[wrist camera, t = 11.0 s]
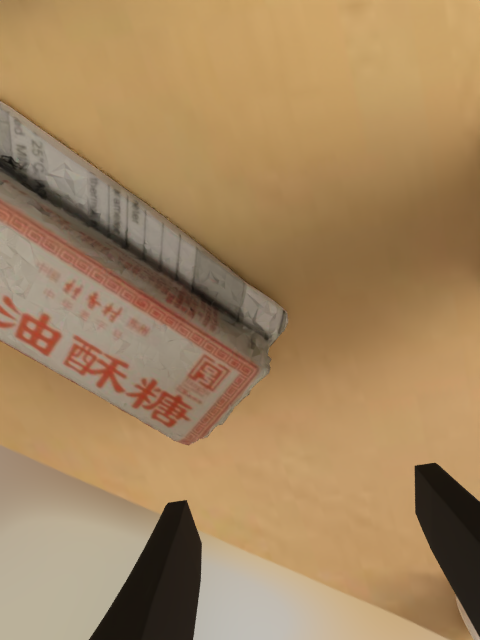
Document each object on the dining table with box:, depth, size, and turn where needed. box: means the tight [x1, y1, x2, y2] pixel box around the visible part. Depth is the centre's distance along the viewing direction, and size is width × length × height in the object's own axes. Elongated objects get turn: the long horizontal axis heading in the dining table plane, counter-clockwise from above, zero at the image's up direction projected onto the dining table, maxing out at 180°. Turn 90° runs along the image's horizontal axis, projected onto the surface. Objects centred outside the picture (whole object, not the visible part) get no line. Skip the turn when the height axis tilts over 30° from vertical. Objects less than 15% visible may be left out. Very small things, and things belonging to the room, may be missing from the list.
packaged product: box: [0, 101, 288, 445], centre depth 17 cm, size 18×5×10 cm
